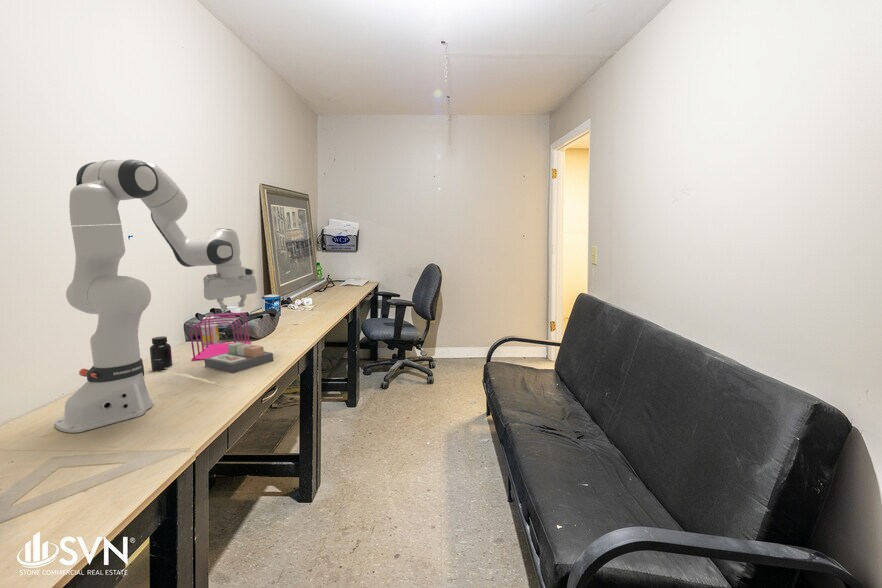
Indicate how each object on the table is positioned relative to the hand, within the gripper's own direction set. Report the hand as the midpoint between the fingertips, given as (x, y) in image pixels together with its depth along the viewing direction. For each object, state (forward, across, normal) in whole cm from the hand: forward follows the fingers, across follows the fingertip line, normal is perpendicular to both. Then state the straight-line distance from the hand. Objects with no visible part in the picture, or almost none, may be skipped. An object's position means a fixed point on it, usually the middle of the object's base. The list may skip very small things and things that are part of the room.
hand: (233, 308), depth 178 cm
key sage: (+18, 0, 0) cm, 18 cm away
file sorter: (+22, +6, +18) cm, 29 cm away
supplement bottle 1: (+21, -19, +19) cm, 34 cm away
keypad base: (+21, -3, -5) cm, 22 cm away
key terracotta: (+18, 0, -11) cm, 21 cm away
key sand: (+18, 0, -5) cm, 19 cm away
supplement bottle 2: (+22, +11, +36) cm, 44 cm away
